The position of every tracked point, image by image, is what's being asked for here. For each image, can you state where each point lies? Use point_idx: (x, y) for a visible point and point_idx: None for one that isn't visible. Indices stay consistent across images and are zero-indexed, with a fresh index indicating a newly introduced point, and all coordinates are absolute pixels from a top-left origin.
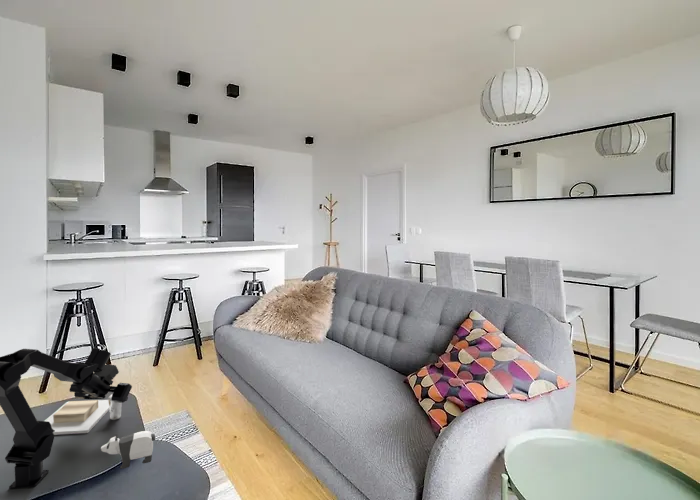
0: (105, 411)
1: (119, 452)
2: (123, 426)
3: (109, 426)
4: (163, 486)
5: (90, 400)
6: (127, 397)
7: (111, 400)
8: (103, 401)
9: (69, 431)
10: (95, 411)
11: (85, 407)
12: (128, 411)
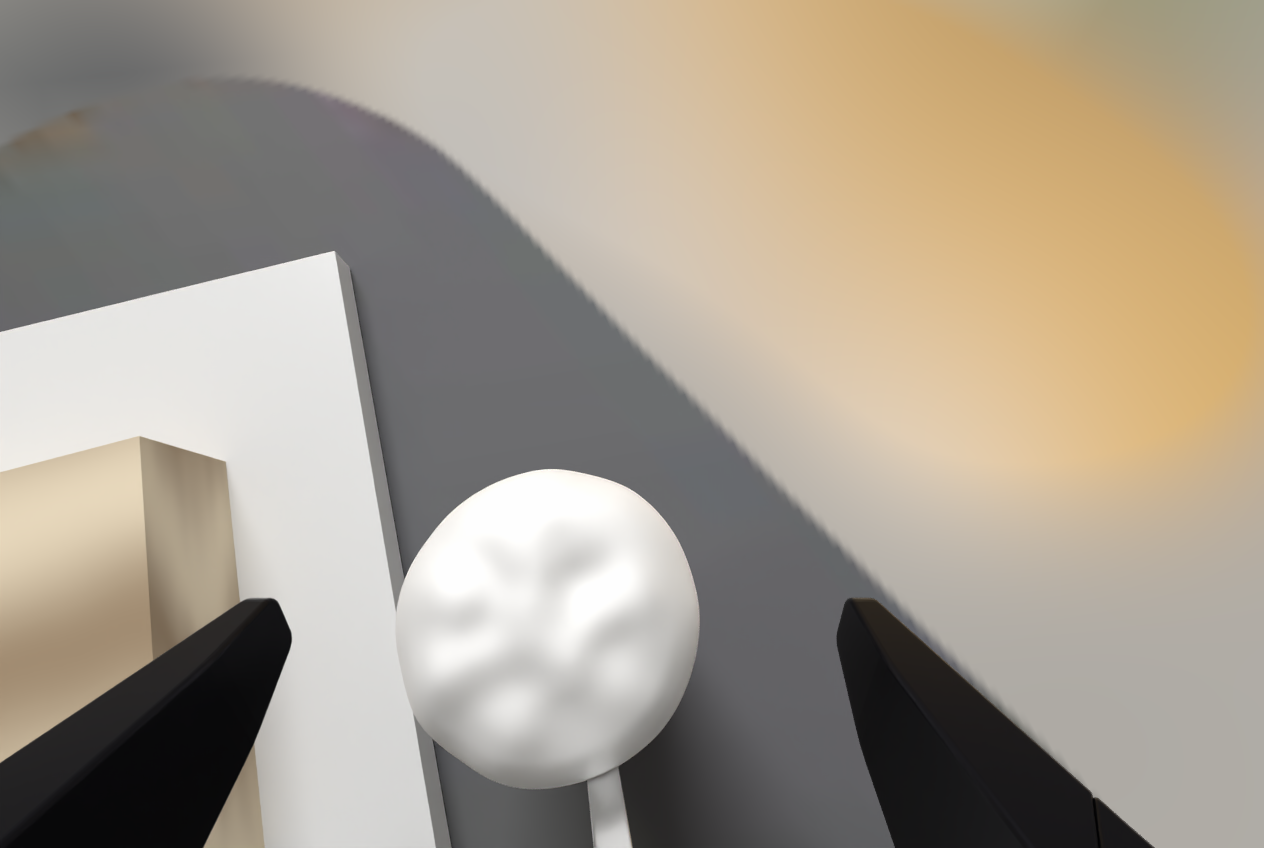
0: (384, 533)
1: None
2: (843, 785)
3: (663, 822)
4: None
5: (21, 469)
6: (913, 645)
7: (562, 780)
8: (202, 319)
9: None
10: (253, 564)
11: (67, 704)
12: (640, 436)
